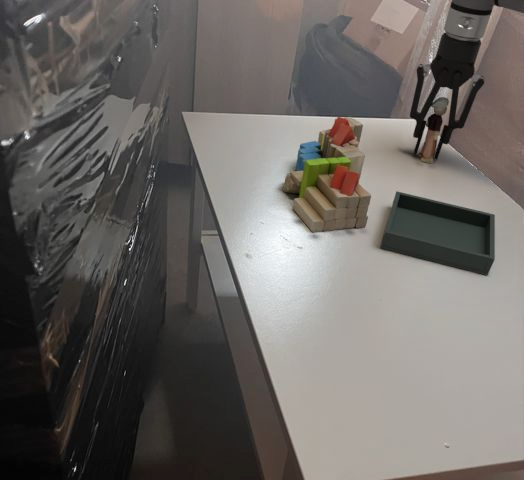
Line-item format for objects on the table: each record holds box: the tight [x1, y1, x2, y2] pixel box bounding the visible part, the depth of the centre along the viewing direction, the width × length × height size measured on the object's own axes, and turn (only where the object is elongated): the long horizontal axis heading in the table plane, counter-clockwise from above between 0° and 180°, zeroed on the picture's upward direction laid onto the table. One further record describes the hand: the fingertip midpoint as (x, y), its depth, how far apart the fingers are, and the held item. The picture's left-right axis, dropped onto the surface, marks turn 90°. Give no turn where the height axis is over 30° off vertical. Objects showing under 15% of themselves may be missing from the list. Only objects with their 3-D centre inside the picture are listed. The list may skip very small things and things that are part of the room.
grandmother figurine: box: [417, 96, 450, 164], centre depth 121 cm, size 8×4×13 cm, turn 12°
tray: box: [379, 190, 496, 276], centre depth 99 cm, size 18×16×3 cm
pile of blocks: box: [282, 116, 372, 233], centre depth 107 cm, size 36×15×11 cm, turn 177°
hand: (425, 154), depth 125 cm, fingers closed on grandmother figurine, 4 cm apart
